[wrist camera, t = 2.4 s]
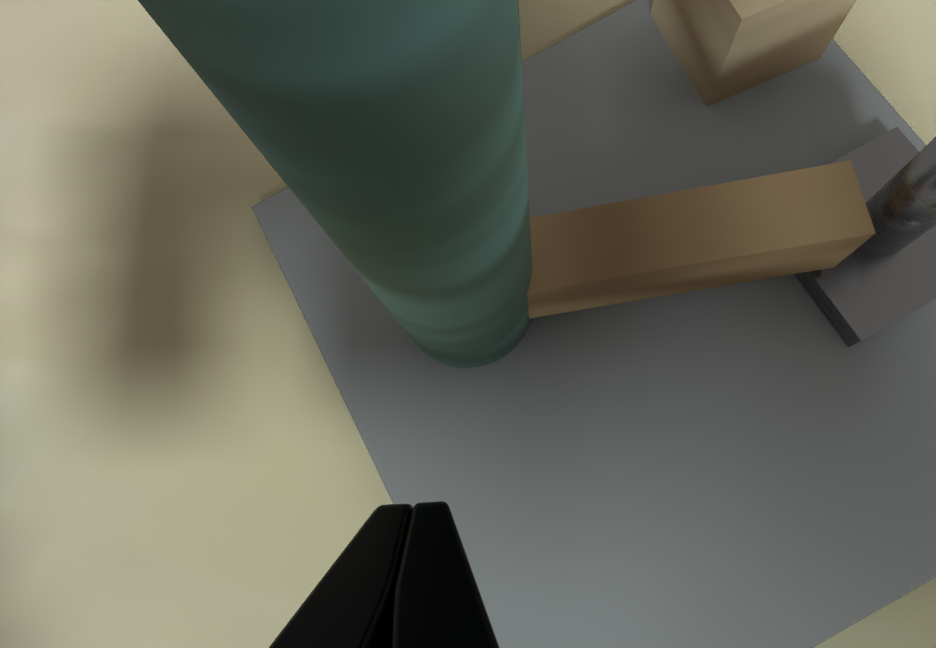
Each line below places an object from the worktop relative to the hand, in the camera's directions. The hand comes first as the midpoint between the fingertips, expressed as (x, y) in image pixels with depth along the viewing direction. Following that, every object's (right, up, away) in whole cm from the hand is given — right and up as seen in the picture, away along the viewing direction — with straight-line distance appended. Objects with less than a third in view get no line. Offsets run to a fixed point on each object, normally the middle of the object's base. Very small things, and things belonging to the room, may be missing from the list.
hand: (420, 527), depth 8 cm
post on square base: (+9, +4, +7) cm, 12 cm away
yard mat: (+5, +3, +7) cm, 9 cm away
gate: (+4, +3, +7) cm, 9 cm away
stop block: (+7, +10, +8) cm, 15 cm away
